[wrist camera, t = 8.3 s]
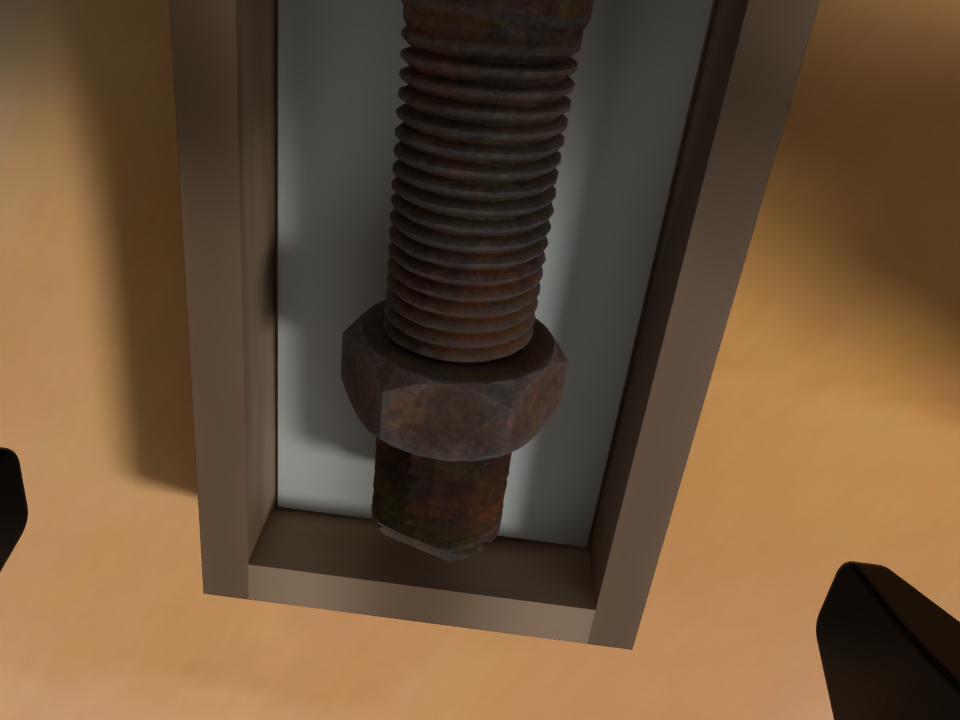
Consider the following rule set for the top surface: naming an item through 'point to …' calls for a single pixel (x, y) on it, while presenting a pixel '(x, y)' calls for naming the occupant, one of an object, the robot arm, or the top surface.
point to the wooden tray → (561, 308)
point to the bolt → (465, 267)
